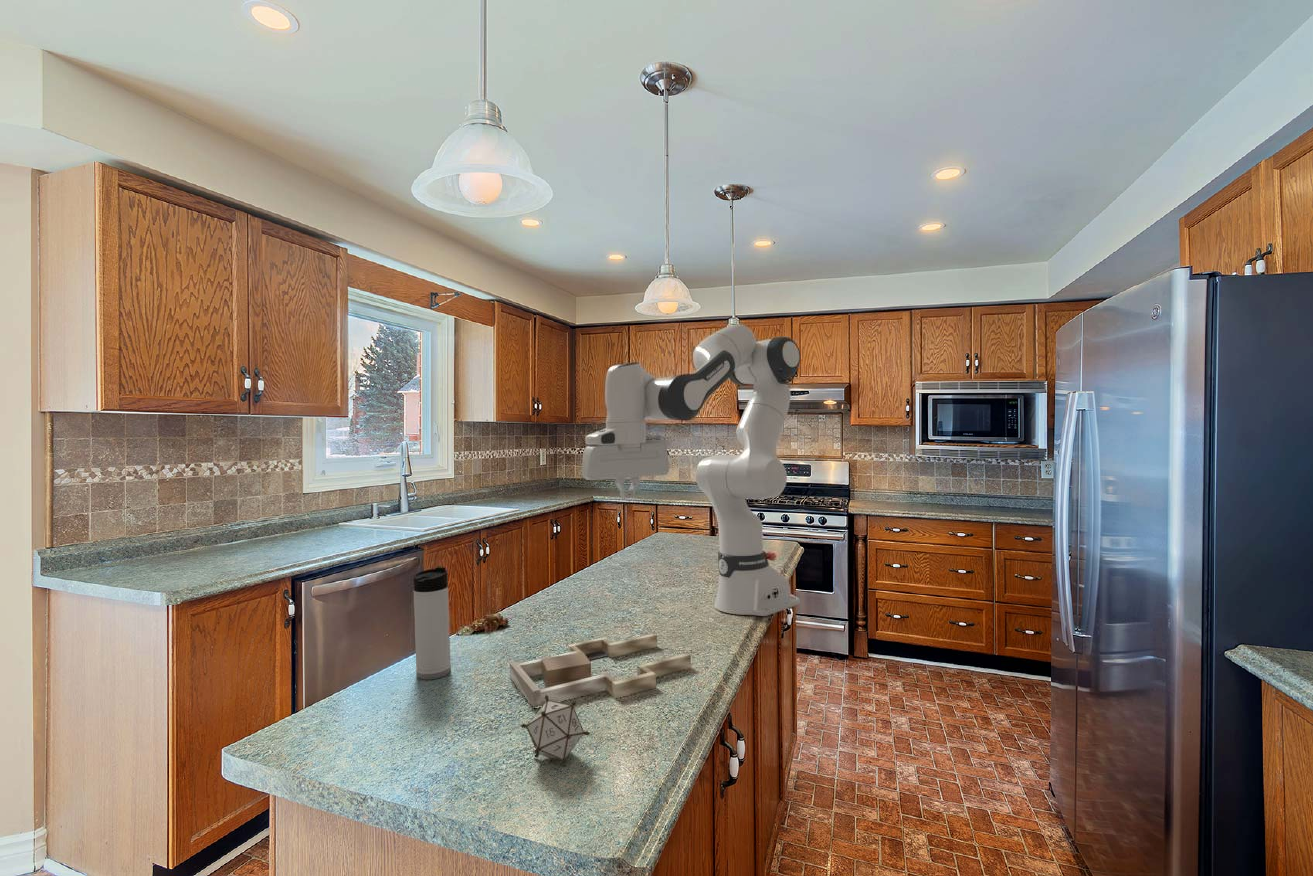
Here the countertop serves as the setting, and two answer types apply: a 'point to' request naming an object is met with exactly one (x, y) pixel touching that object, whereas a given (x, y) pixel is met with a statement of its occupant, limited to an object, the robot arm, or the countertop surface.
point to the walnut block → (565, 669)
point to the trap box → (600, 682)
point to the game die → (555, 730)
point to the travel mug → (432, 624)
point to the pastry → (484, 624)
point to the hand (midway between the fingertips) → (627, 498)
